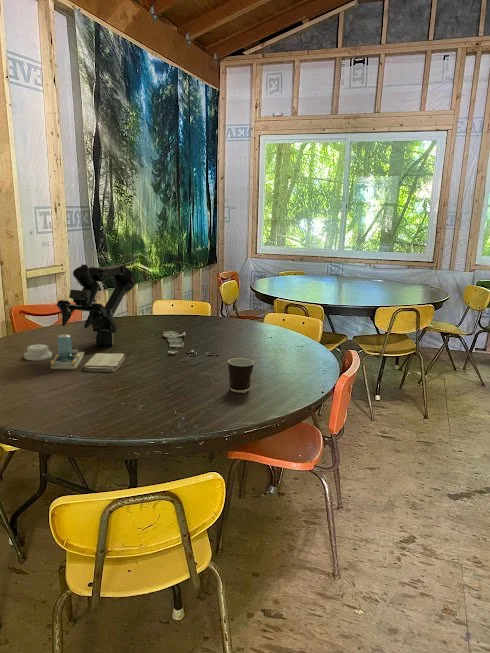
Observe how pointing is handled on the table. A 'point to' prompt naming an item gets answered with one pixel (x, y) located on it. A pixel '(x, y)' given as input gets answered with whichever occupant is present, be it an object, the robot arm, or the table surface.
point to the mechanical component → (37, 352)
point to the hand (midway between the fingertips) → (73, 326)
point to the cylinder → (64, 347)
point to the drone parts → (174, 340)
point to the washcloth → (104, 362)
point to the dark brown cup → (240, 373)
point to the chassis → (67, 364)
